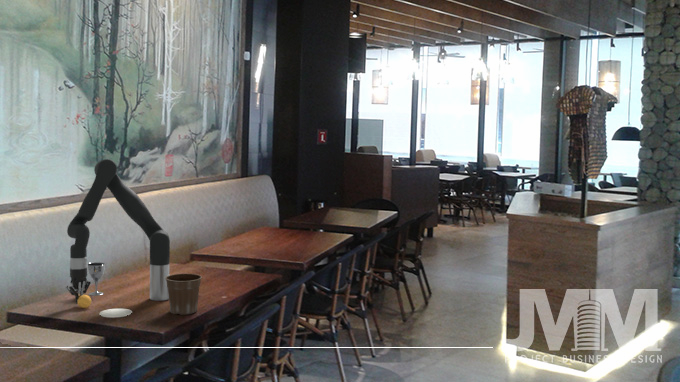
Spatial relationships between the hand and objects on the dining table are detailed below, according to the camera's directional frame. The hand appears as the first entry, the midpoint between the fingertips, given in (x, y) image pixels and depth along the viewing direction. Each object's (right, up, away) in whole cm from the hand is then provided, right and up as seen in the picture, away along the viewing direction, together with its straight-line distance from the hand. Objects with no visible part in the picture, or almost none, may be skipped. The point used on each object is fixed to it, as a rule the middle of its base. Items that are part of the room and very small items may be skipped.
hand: (78, 303), depth 324 cm
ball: (+3, +1, -3) cm, 5 cm away
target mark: (+20, -3, -9) cm, 22 cm away
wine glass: (0, +1, +23) cm, 23 cm away
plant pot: (+49, -3, -3) cm, 49 cm away
